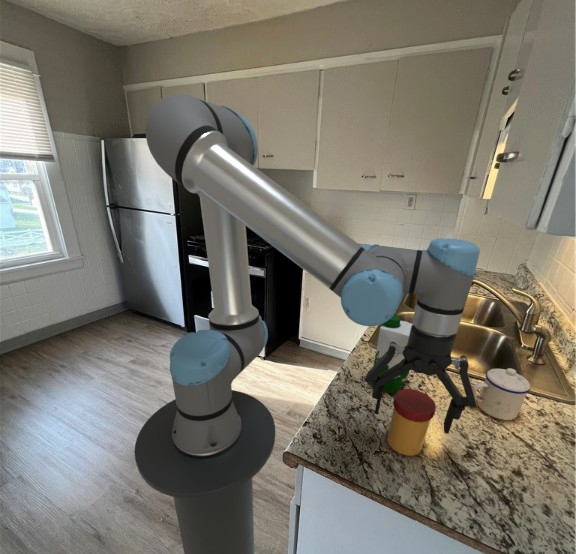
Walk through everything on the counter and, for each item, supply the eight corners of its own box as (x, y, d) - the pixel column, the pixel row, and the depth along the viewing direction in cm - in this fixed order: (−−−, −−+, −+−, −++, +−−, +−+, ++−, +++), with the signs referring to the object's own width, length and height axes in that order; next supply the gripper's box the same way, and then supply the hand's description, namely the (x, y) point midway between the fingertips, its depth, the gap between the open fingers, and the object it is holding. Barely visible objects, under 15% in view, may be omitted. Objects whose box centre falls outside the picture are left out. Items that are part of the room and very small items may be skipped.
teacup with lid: (504, 397, 83) (519, 360, 78) (526, 422, 75) (545, 382, 70) (458, 395, 83) (470, 358, 78) (475, 419, 75) (489, 379, 70)
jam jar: (385, 449, 66) (394, 410, 62) (388, 426, 72) (396, 389, 68) (422, 460, 64) (434, 420, 59) (421, 435, 70) (432, 397, 65)
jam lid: (433, 401, 66) (435, 394, 65) (434, 427, 59) (436, 419, 59) (394, 392, 69) (395, 385, 68) (391, 415, 62) (393, 408, 61)
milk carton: (376, 371, 92) (388, 309, 83) (408, 382, 88) (423, 317, 79) (367, 386, 85) (378, 320, 77) (400, 399, 81) (416, 330, 72)
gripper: (509, 333, 55) (474, 424, 64) (366, 308, 63) (354, 393, 72) (520, 353, 49) (480, 451, 58) (360, 323, 57) (347, 413, 66)
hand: (410, 419), depth 65 cm, fingers open, 13 cm apart
